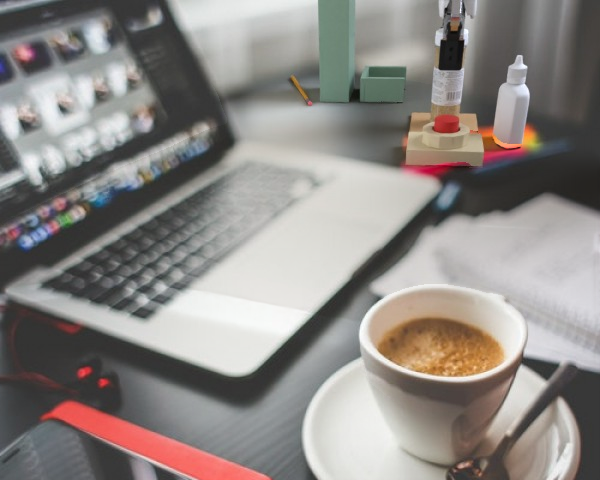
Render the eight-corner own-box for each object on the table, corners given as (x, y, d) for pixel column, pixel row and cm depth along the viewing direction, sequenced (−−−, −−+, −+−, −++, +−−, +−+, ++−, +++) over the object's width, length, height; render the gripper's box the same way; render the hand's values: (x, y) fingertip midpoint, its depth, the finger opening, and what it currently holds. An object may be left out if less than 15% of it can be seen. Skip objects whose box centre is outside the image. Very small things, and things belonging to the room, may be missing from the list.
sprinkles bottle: (455, 117, 98) (464, 25, 90) (462, 127, 94) (472, 32, 86) (425, 119, 98) (432, 27, 90) (432, 129, 94) (439, 33, 86)
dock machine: (405, 88, 114) (412, -30, 103) (403, 103, 106) (409, -21, 96) (327, 86, 116) (325, -28, 106) (319, 102, 109) (316, -20, 98)
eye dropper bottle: (524, 138, 91) (538, 51, 84) (520, 151, 87) (535, 61, 80) (493, 135, 92) (505, 50, 86) (488, 148, 88) (500, 60, 81)
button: (457, 127, 85) (459, 114, 84) (458, 135, 83) (459, 122, 82) (433, 126, 86) (435, 114, 85) (433, 135, 83) (434, 122, 82)
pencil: (312, 106, 108) (312, 101, 107) (308, 106, 107) (308, 101, 107) (293, 77, 123) (292, 73, 123) (289, 77, 123) (289, 73, 122)
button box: (479, 148, 88) (483, 120, 86) (482, 168, 83) (486, 138, 80) (407, 146, 90) (409, 119, 88) (405, 165, 84) (407, 136, 82)
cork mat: (475, 117, 99) (475, 113, 99) (478, 139, 91) (479, 135, 91) (411, 116, 101) (411, 112, 101) (408, 137, 93) (409, 133, 93)
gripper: (497, -76, 73) (479, 79, 83) (488, -86, 87) (473, 48, 97) (432, -74, 74) (421, 79, 84) (433, -84, 88) (424, 48, 98)
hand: (449, 61), depth 91 cm, fingers open, 7 cm apart
